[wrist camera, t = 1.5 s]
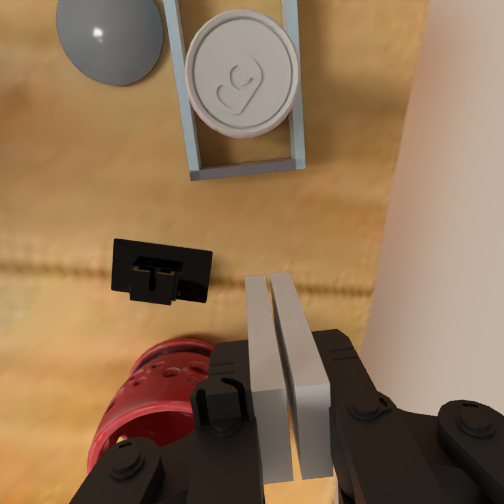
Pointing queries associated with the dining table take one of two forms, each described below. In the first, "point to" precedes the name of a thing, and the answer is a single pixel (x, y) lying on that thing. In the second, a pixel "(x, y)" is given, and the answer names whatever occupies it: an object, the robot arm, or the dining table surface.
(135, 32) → the grey round disc
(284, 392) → the robot arm
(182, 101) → the channel
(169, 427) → the plant pot
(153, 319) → the dining table surface
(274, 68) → the beverage can
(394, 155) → the dining table surface
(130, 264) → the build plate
